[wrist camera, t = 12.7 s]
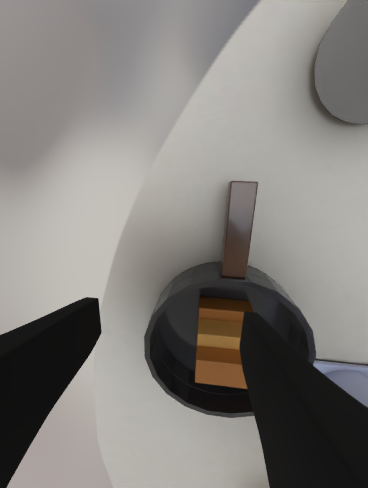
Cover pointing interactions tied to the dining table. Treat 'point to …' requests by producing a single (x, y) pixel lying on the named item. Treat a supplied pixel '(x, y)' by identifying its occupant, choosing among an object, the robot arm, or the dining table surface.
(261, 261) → the dining table surface
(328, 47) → the can
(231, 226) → the pan handle
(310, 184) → the dining table surface
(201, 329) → the tiered wooden ziggurat
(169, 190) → the dining table surface
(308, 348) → the pan
